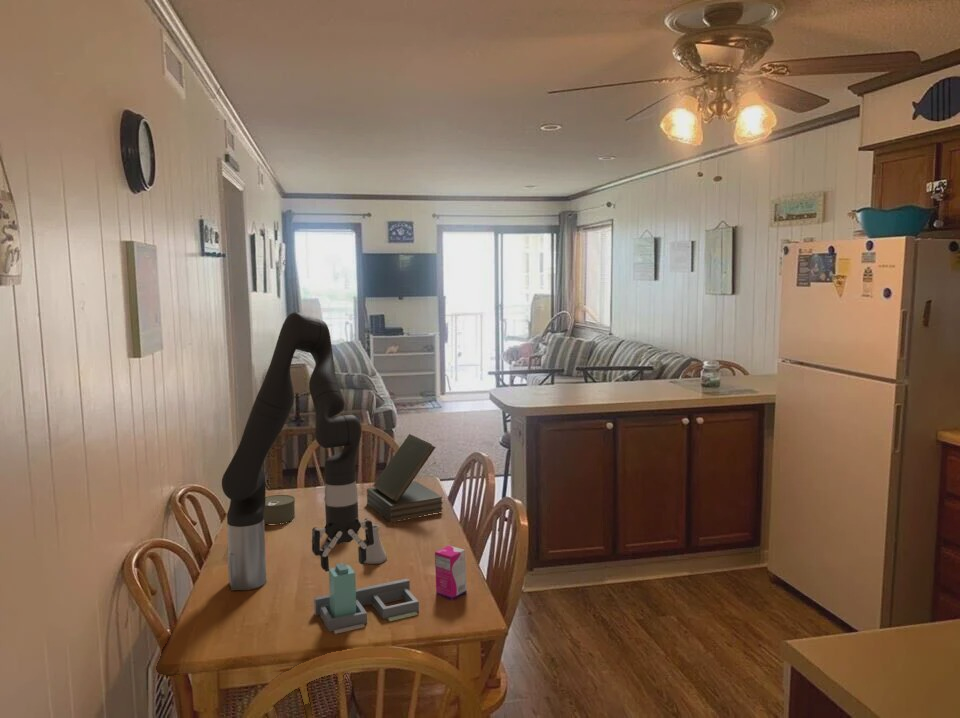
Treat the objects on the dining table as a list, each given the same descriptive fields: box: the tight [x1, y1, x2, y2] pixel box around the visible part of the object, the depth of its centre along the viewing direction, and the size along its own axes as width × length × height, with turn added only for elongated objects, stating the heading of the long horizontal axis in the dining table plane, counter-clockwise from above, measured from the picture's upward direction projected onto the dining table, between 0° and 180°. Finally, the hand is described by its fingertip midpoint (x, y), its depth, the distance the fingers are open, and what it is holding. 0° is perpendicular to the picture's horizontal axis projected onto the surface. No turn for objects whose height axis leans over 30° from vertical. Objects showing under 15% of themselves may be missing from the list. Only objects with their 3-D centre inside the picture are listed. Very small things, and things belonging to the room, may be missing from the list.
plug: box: [328, 562, 357, 618], centre depth 162 cm, size 5×5×13 cm
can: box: [264, 494, 296, 525], centre depth 233 cm, size 12×12×7 cm
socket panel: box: [313, 578, 420, 635], centre depth 165 cm, size 24×12×4 cm, turn 116°
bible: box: [366, 433, 444, 523], centre depth 243 cm, size 23×20×25 cm
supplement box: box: [434, 545, 467, 601], centre depth 175 cm, size 6×6×12 cm
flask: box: [364, 524, 387, 565], centre depth 197 cm, size 7×7×10 cm
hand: (344, 566), depth 162 cm, fingers open, 8 cm apart
